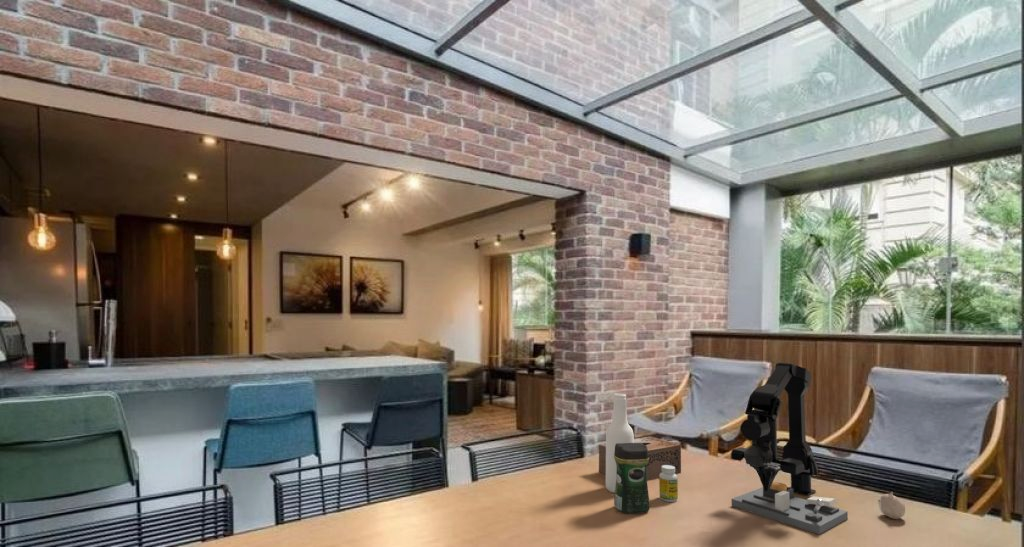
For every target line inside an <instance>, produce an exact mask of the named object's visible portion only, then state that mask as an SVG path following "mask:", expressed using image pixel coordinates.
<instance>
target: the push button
mask: <svg viewBox="0 0 1024 547" xmlns="http://www.w3.org/2000/svg"><path fill="white" fill-rule="evenodd" d="M787 487H788V485H787V484H786V483H783V482H777V481H773V483H772V485H771V487H770V488H771V489H774V490H778V491H787Z"/></svg>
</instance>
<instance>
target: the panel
mask: <svg viewBox="0 0 1024 547" xmlns="http://www.w3.org/2000/svg"><path fill="white" fill-rule="evenodd" d="M789 487H790V486H787V492H789V502H790V508H789V509H787V510H785V511H780V510H777V509H775V494H776V493H779V492H781V491H778V490H774V489H771V488H770V489H769V491H765V490H764V488H763V486H762V487H759V488H756V489H755V490H754V489H753V490H751V491H749V492H746V493H744V494H741V495H738V496H735V497H733V498H731V506H732V507H734V508H737V509H740V510H743V511H746V512H749V513H752V514H755V515H759V516H762V517H764V518H766V519H767V518H768V519H771V520H774V521H777V522H780V523H784V524H787V525H789V526H792V527H795V528H798V529H801V530H804V531H808V532H811V533H812V534H813V533H814V534H816V535H821V534H823V533H825V532H827V531H828V530H831V529H832V528H834V527H836V526H838V525H839V524H842V523H843V522H845V521H846V520H848V518H849V517H848V511H847V510H844V509H840V507H839V508H838V507H836V506H833V505H832V506H821V507H820V509H819V511H818V512H817V514H814V513H813V510H814V508H815V506H816V505H815V504H807V499H804V498H801V497H797V496H795V492H794V489H793V488H789Z"/></svg>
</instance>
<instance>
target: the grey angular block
mask: <svg viewBox="0 0 1024 547" xmlns="http://www.w3.org/2000/svg"><path fill="white" fill-rule="evenodd" d="M789 508H790V502H789V492H787V491H781V492H779V493H776V494H775V509H777V510H780V511H785V510H787V509H789Z"/></svg>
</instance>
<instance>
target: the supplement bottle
mask: <svg viewBox="0 0 1024 547" xmlns="http://www.w3.org/2000/svg"><path fill="white" fill-rule="evenodd" d="M661 470H662V473H660V475H659V478H658V480H659V484H658V486H659V487H658V488H659V491H658V492H659V499H660V500H661V501H664V502H668V503H676V502H677V501H678V499H679V496H678V495H679V494H678V493H679V492H678V489H679V488H678V487H679V486H678V485H679V484H678V474H675V467H674V466H670V465H663V466H662V468H661Z"/></svg>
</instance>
